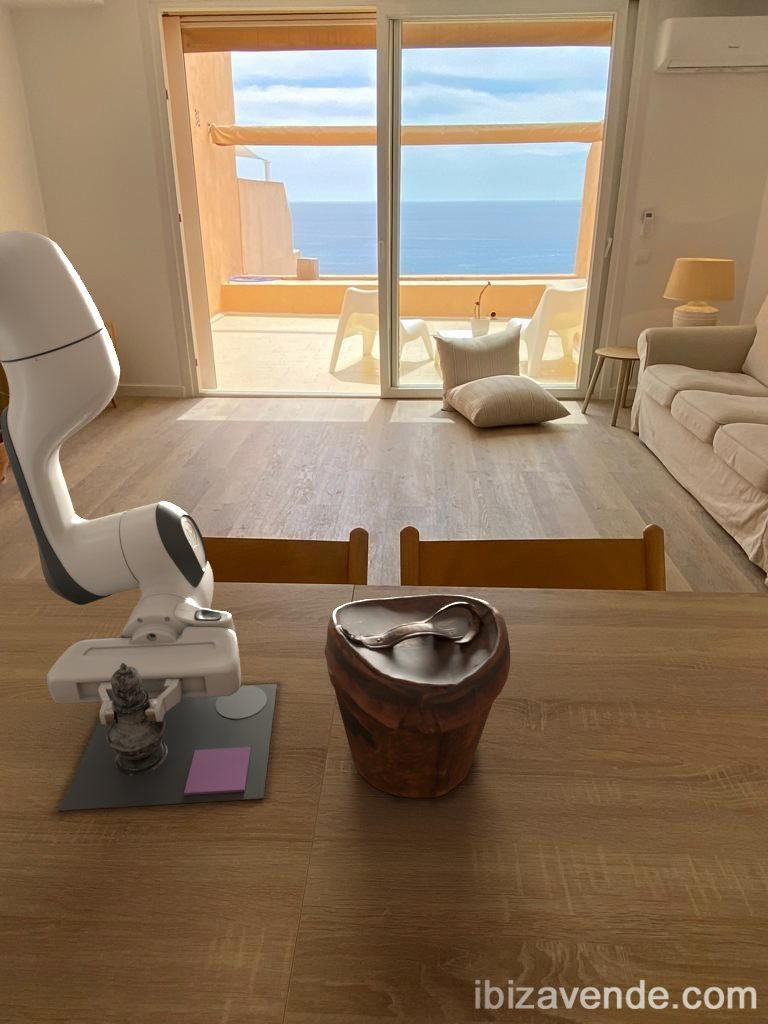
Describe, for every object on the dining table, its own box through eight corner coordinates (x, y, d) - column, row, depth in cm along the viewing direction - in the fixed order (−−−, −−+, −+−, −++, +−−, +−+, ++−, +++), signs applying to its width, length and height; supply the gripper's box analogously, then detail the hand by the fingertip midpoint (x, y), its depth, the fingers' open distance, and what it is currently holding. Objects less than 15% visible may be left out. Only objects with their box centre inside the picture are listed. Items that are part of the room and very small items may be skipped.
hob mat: (58, 811, 68) (58, 810, 68) (112, 693, 85) (111, 692, 85) (263, 798, 69) (263, 797, 69) (277, 684, 86) (276, 683, 86)
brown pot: (532, 731, 78) (545, 593, 70) (443, 860, 63) (448, 701, 55) (398, 676, 87) (398, 549, 80) (293, 777, 72) (280, 631, 64)
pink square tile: (184, 795, 70) (183, 793, 70) (195, 752, 75) (194, 750, 75) (244, 791, 70) (244, 789, 70) (250, 748, 76) (250, 746, 75)
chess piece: (100, 772, 71) (77, 677, 66) (132, 733, 76) (113, 641, 71) (151, 782, 70) (132, 686, 65) (180, 741, 75) (165, 649, 70)
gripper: (66, 620, 80) (17, 698, 68) (244, 612, 82) (228, 687, 69) (77, 664, 83) (31, 748, 70) (249, 656, 84) (234, 737, 72)
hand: (130, 718), depth 70 cm, fingers closed on chess piece, 3 cm apart
